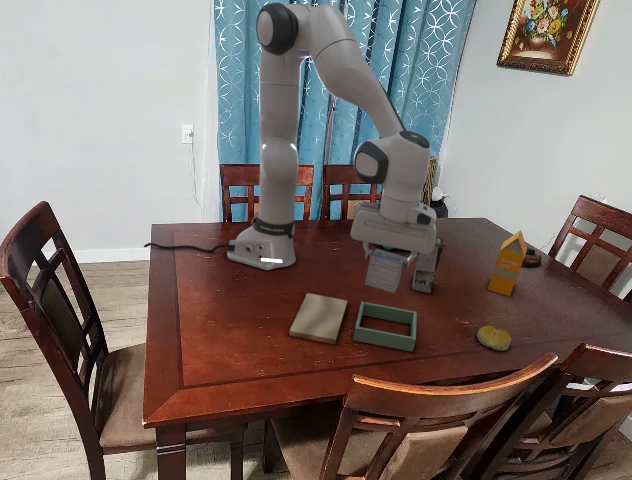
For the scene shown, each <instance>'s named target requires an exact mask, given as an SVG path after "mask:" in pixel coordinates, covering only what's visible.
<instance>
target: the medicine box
mask: <svg viewBox="0 0 632 480" xmlns="http://www.w3.org/2000/svg"><path fill="white" fill-rule="evenodd" d="M404 259H405V256H403V255H400V254H396V253H393V252H390V251H387V250H383V249H379V248H375V249H374V251H372V254H371V257H370V259H369V263H368V268H367V273H366V277H365V282H364V285H365V286H368V287H372V288H375V289H378V290H381V291H385V292H389V293H392V294H395V293H396V291H397V289H398V287H399V284H400V281H401V276H402V272H403V268H404V266H403V264H404Z"/></svg>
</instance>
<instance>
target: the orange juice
mask: <svg viewBox="0 0 632 480" xmlns="http://www.w3.org/2000/svg"><path fill="white" fill-rule="evenodd" d="M526 246H527V244H526V241H525V238H524V235H523V232H522V229H520V230H518V231H517V232H515V233H514V234H513V235H512V236H510V237H508V238H507V239H506V240H504V241H503V243H502V245H501V247H500V249H499V254H498V256H497V260H496V263H495V265H494V268H493V271H492V274H491V277H490V280H489V283H488V285H487V290H488V291H491V292H495V293H497V294H501V295H504V296H506V297H510V296H511V294H512V291H513V288H514V286H515V283H516V281H517V278H518V276H519V272H520V270H521V267H522V266H521V265H522V262H523V259H524V258H525V254H526V251H527V247H526Z"/></svg>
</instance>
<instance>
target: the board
mask: <svg viewBox="0 0 632 480" xmlns="http://www.w3.org/2000/svg"><path fill="white" fill-rule="evenodd" d="M347 305H348V300H346V299H340V298H335V297H331V296H326V295H319V294H314V293H309V292H307V293H306V294H305V297H304V299H303V301H302V303H301V305H300V307H299V309H298V312H297V314H296V316H295V318H294V320H293V322H292V324H291V327H290V329H289V331H288V332H289V333H288V336H291V337H295V338H299V339H300V338H301V339H306V340H310V341H315V342H321V343H327V344H332V345H336V343H337V340H338V336H339V333H340V329H341V326H342V323H343V319H344V316H345V313H346V309H347Z"/></svg>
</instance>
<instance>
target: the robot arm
mask: <svg viewBox="0 0 632 480" xmlns="http://www.w3.org/2000/svg"><path fill="white" fill-rule="evenodd" d="M255 21H256V22H255V31H256V32H255V33H256V37H257V40H258V43H259V45H260V46H261V52H260V59H259V60H260V61H259V73H258V74H259V75H258V77H259V78H258V79H259V80H258V84H259V90H258V91H259V94H258V95H259V97H258V98H259V190H258V211H257V212H255V213H254V216H253V217H252V219H251V226H249V227H248V228H246V229H244V230H242V231H241V232H240V233H239V234H238V235H237V236H236V238H235V239H229V242H228V243H223V244H218V245H216V246H215V245H214V247H213V248H212V249H204V248H201V247H199V246H196V245H189V244H188V245H187V244H186V245H185V244H184V245H172V246H170V245H167V246H166V245H161V244H158V243H154V242H148V243H146V244H144V245H143V248H148V247H150V246H152V247H155V248H159V249H163V250H176V249H193V250H197V251H200V252H204V253H214V252H215V251H216V250H218V249H220V248H227V247H228V250H227V254H226V258H227V259H228V260H230V261H234V262H237V263H240V264H244V265H248V266H251V267H255V268H257V269H261V270H263V271H264V270H265V271H271V270H274V269H278V268H279V269H280V268H286V267H289V266H291V265H293V264H295V262H296V261H297V258H296V253H295V245H294V236H295V233H296V219H295V204H296V193H297V185H298V178H299V169H300V168H299V167H300V157H299V154H298V147H297V146H298V145H297V144H298V130H299V122H300V121H299V120H300V108H301V107H300V106H301V105H300V104H301V68H302V63H303V62H304V61H305V60H306V59H308V58H309V60H310V61H312V63H313V66H314V69H315V71H316V74H317V76H318V79H319V80H320V82H321V84H322V86H323V87H324V89H325V90H326V91H327V92H328V93H329V94H330V95H331V96H333V97H335V98H337V99H339V100H342V101H344V102H347V103H349V104H352V105H354V106H356V107H357V108H359V109H361V110H362V111H363V112H364V113H366V114H367V116H368V117H369V118H370V119H371V121H372V124H373V125H374V127H375V129H376V131H377V133H378V136H379V137H380V138H374V139H368V140H365V141H362V142H360V144H359V145H358V146H357V147H356V149H355V152H354V155H353V162H352V164H353V170H354V172H355V174H356V176H357V177H358V179H359V180H360V181H361V182H363V183H367V184H372V185H380V186H382V188H383V190H382V193H381V194H382V195H381V198H380V203H375V202H368V201H366V200H361V201H360V202H356V203H355V204H354V205H353V209H352V217H353V221H352V225H351V229H350V238H351V239H352V240H355V241H359V242H362V247H363V250H364V253H365V255H364V259H366V260H370V257H371V254H372V253H373V250H372V249H370V248H369V246H370V244H375V245H379V246H382V245H384V246H389V247H394V248H393V249H395V248H398V249H397V250H403V251H404V250H405V251H409V252H410V253H411V254H410V255H409V256H408V257H405V256H404V257H405V259H404V264H403V267H405V268H410V265H411V263H412V262H413V260H414V259H416V257H417V256H418V254H419V253H423V254H431V253H432V252H433V250H434V246H435V240H436V236H437V229H436V228H437V227H436V222H437V213H436V212H437V211H435V209H434V208H432V207H430V206H429V205H427V204H425V203H423V202H421V201H422V190H423V187H424V185H425V183H426V180H427V176H428V172H429V168H430V162H431V153H432V148H431V147H432V146H431V143H430V141H429V140H428V139H427V138H426V137H425V136H424V135H422V134H420V133H417V132H415V131H411V130H407V128H406V126H405V124H404V123H403V121H402V119H401V117H400V115H399V114H398V113H399V112H398V111H397V109H396V108H395V105H394V103H393V102H392V99H391V97H390V96H389V94H388V92H387V90H386V89H385V87H384V85H383V84H382V82H380V80H379V79H378V77H377V76H376V75H375V73H374V72H373V70H372V69H371V67H370V65H369V64H368V62H367V60H366V58H365V56H364V54H363V52H362V50H361V48H360V46H359V43H358V41H357V38H356V36H355V34H354V32H353V29H352V28H351V26H350V23H349V22H348V20H347V19H346V17H345V16H344V14H343V13H342V11H341V10H340V8H338V7H337V6H336V5H333V4H329V3H324V4H323V3H322V4H320V5H318V6H313V5H309V4H305V3H298V4H296V3H282V2H271V3H267V4H265V5H262V7H261V9H260V10H259V12H258V14H257V18H256V20H255Z"/></svg>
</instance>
